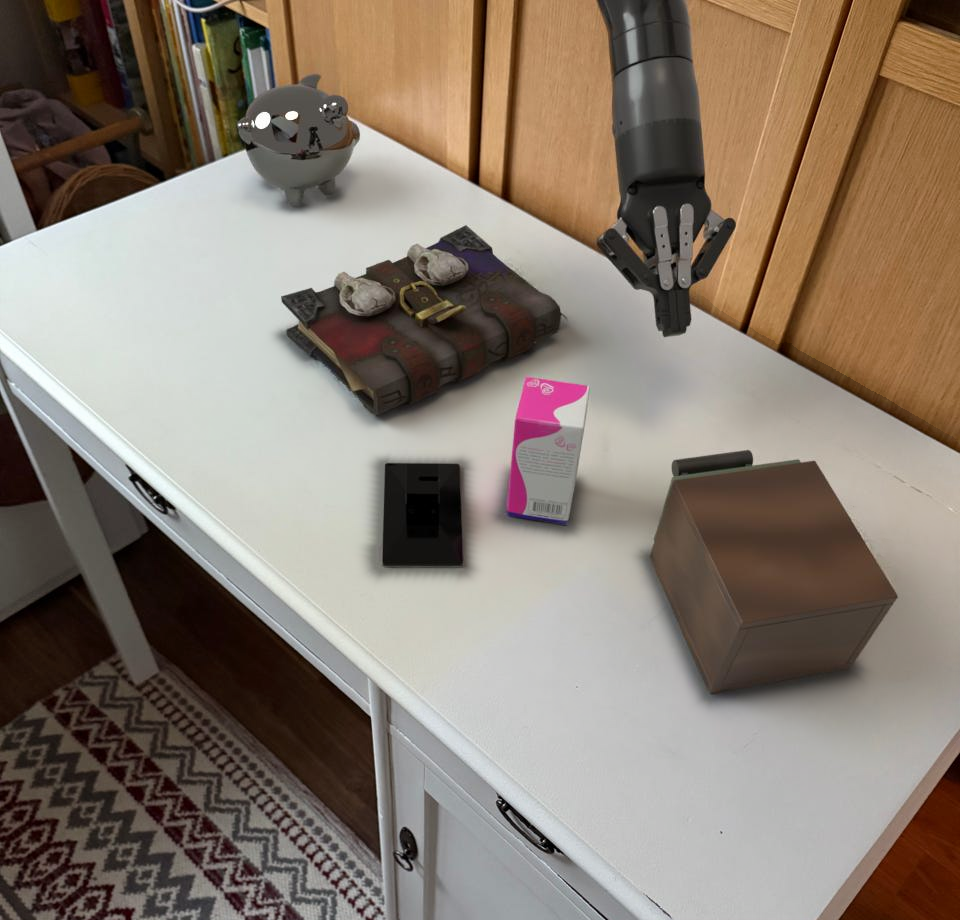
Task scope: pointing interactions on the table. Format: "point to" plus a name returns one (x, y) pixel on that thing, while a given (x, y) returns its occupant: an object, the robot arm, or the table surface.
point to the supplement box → (546, 449)
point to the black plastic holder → (422, 516)
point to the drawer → (715, 466)
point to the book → (421, 320)
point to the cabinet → (767, 575)
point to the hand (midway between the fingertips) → (675, 334)
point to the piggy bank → (299, 137)
